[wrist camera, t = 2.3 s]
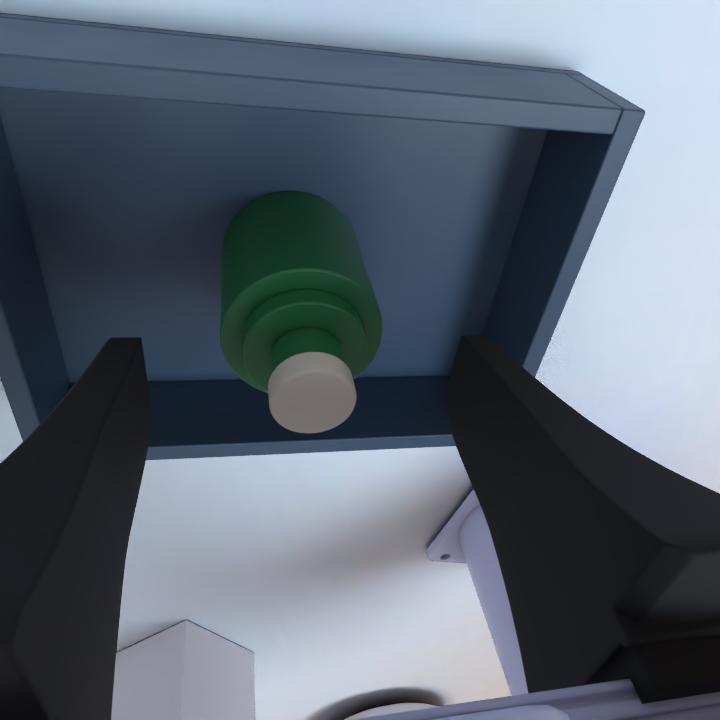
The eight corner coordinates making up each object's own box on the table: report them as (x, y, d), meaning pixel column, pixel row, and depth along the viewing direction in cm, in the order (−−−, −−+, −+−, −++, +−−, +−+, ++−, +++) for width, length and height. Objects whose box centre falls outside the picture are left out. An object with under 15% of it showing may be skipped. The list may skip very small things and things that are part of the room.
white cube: (185, 619, 31) (178, 748, 26) (253, 651, 35) (257, 769, 30) (99, 660, 32) (78, 790, 27) (174, 687, 36) (166, 806, 31)
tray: (579, 71, 16) (647, 110, 13) (476, 379, 23) (507, 444, 20) (-49, 8, 13) (-122, 43, 10) (57, 388, 20) (30, 466, 17)
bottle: (376, 213, 17) (435, 352, 12) (329, 320, 19) (363, 474, 14) (241, 171, 16) (247, 311, 11) (208, 292, 18) (199, 453, 13)
